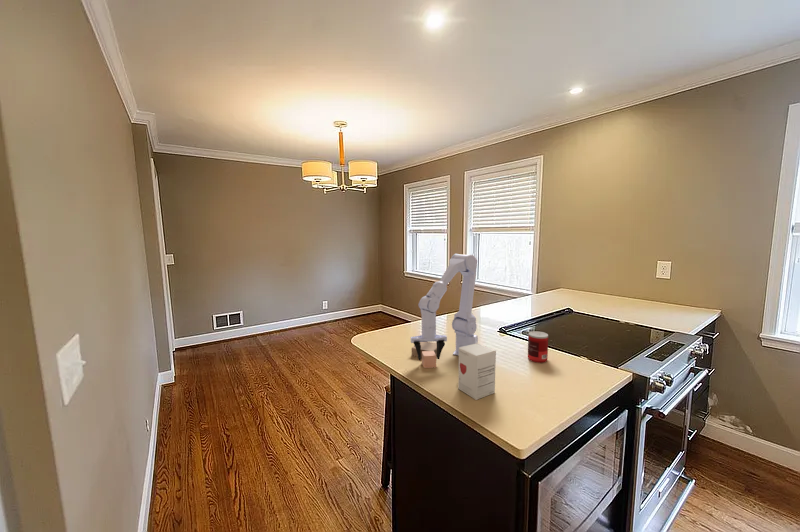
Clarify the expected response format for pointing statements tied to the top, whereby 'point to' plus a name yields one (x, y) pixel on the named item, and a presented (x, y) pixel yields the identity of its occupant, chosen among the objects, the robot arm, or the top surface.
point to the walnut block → (425, 348)
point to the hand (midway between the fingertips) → (428, 358)
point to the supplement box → (477, 370)
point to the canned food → (537, 346)
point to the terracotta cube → (428, 359)
